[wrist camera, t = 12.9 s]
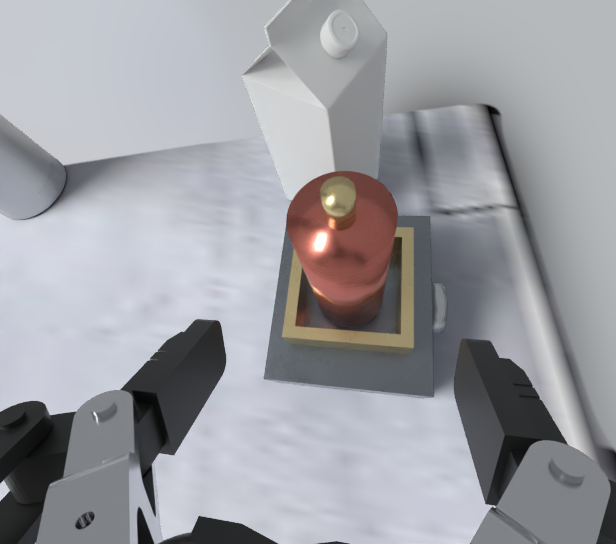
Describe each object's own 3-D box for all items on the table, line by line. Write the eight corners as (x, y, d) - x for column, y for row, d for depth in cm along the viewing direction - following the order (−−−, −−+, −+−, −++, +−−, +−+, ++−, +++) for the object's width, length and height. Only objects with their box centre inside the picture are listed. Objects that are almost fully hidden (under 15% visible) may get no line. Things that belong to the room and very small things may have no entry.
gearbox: (279, 382, 30) (251, 375, 22) (298, 239, 34) (280, 194, 27) (437, 399, 27) (465, 398, 20) (433, 243, 32) (454, 195, 25)
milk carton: (286, 199, 36) (216, 10, 19) (323, 152, 38) (289, -63, 20) (342, 229, 34) (320, 44, 17) (378, 177, 36) (394, -41, 18)
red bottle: (314, 324, 26) (267, 245, 13) (321, 264, 28) (285, 141, 15) (381, 329, 25) (401, 251, 12) (383, 267, 27) (403, 139, 14)
